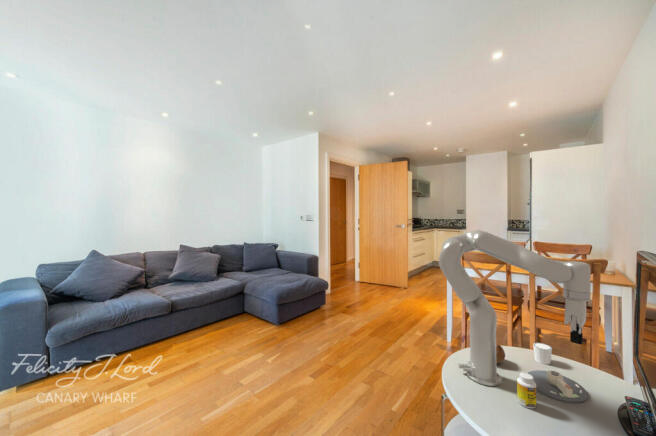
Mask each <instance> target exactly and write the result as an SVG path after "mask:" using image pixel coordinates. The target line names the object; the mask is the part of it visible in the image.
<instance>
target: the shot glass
mask: <svg viewBox="0 0 656 436" xmlns="http://www.w3.org/2000/svg"><path fill="white" fill-rule="evenodd" d="M532 347H533V355H534V360H535V362H537V363H539V364H542V365H551V363H552V362H551V361H552V351H553V347H552V346H551V345H548V344H546V343H541V342H534V343H532Z"/></svg>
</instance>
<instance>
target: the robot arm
mask: <svg viewBox="0 0 656 436" xmlns="http://www.w3.org/2000/svg"><path fill="white" fill-rule="evenodd" d="M473 251H479V252H481V253H483V254H484V255H485V254H486V255H488V256H490V257H493V258H495V259H497V260H499V261H502V262H503V263H506V264H508V265H511V266H513V267H516V268H519V269H522V270H524V271H527V272H528V273H531V274H534V276H535V275H536V276H537V277H540V278H542V279H545V280H547V281H550V282H551V283H554V284H563V285H562V287H563V288H562V289H563V291H562V293H563V294H562V295H563V297H564V298H565V305H564V319H563V320H564V322H563V323H564V324H565V325H566V326H567V325H569V324H570V330H569V331H570V332H569V335H570V337H569V338H570V343H573V344H577V345H580V346H582V345H583V343H584V341H583V340H584V339H583V338H584V336H583V335H584V334H583V327H584V325H585V324H586V321H587V302H591V301H592V299H591V280H592V278H591V277H592V276H591V274H592V272H591V265H590V264H589V263H587V262H582V261H576V260H575V261H573V260H568V261H564V260H555V259H551V258H550V257H546V256H544V255H541V254H539V253H536V252H534V251H532V250H530V249H528V248H526V247H524V246H523V245H520V244H518V243H514V242H512V241H510V240H507V239H505V238H502V237H500V236H497V235H494V234H492V233H489V232H488V231H484V230H481V229H477V230H473V231H470V232H465V233H462V234H458V235H454V236H451V237H449V238H446V239H445V240H444V241H443V242H442V246H441V251H440V253H439V256H438V265H439V268H440V270H441V271H442V274H443V275H444V277H445V278H446V280H447V282H448V284H449V285H450V287H451V288H452V289H453V292H454V294H455V295H456V296H457V298H458V299H460V300H461V302H462V303H463V304H464V306H465V308H466V310H467V311H468V314H469V352H470V353H469V355H470V360H469V361H468V362H466V363H459V362H458V364H457V365H458V368H459V369H462V372H466V375H467V376H468V377H469V379H471V380H472V381H473V382H475V383H477V384H480V385H484V386H489V387H495V386H499V385H501V383H502V378H501V374H499V373H498V372H497V364H496V343H497V325H498V318H497V313H496V310H495V309H494V307H493V306H492V304H491V303H490V301H489V299H487V298H486V296H485V295H484V293H483V292H482V290H481V289H480V288H479V286H478V284H477V283H476V282H475V280H474V279H473V278H472V277H470V275H469V274H468V272H467V270H466V269H465V268H464V266H463V264H462V263H461V259H462V257H463V255H464V254H465V253H469V252H473Z"/></svg>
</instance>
